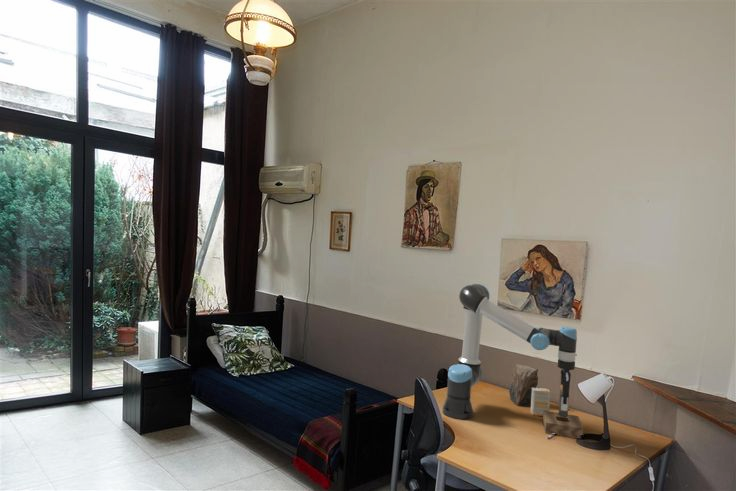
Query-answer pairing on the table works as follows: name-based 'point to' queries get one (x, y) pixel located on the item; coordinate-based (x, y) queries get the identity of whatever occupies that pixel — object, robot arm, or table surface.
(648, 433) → the table surface
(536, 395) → the supplement box
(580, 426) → the socket board
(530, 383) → the brown rock
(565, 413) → the marker peg
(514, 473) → the table surface
